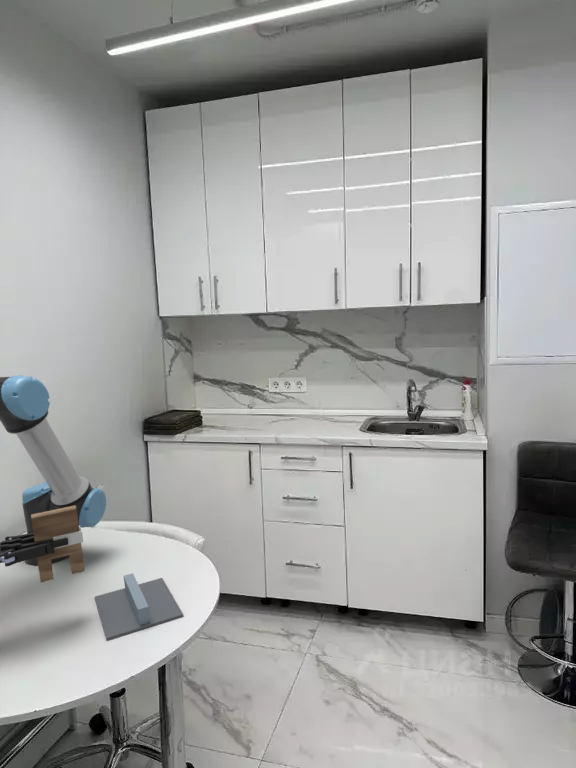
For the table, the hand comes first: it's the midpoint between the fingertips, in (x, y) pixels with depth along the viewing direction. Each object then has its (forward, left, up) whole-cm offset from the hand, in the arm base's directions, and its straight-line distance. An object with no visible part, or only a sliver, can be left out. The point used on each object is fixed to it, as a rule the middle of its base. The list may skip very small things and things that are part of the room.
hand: (81, 533), depth 135 cm
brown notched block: (0, -5, -9) cm, 11 cm away
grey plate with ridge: (+4, +11, -21) cm, 24 cm away
